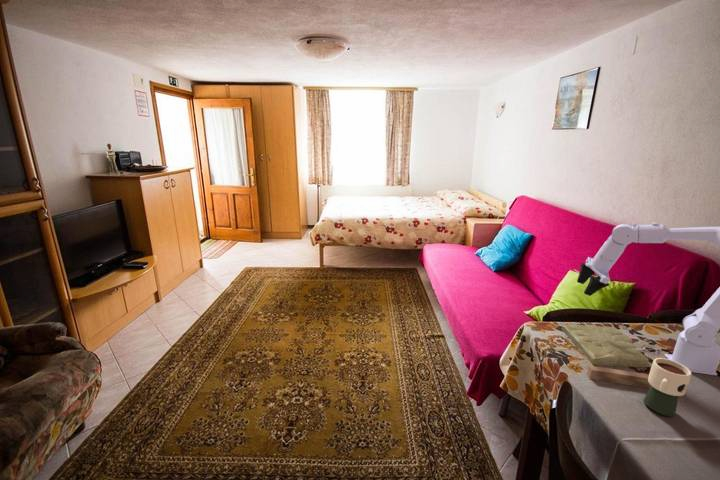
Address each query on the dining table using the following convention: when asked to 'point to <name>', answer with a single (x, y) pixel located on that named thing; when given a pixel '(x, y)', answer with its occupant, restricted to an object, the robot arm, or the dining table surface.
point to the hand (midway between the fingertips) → (583, 288)
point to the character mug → (666, 385)
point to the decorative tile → (605, 346)
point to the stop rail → (618, 376)
